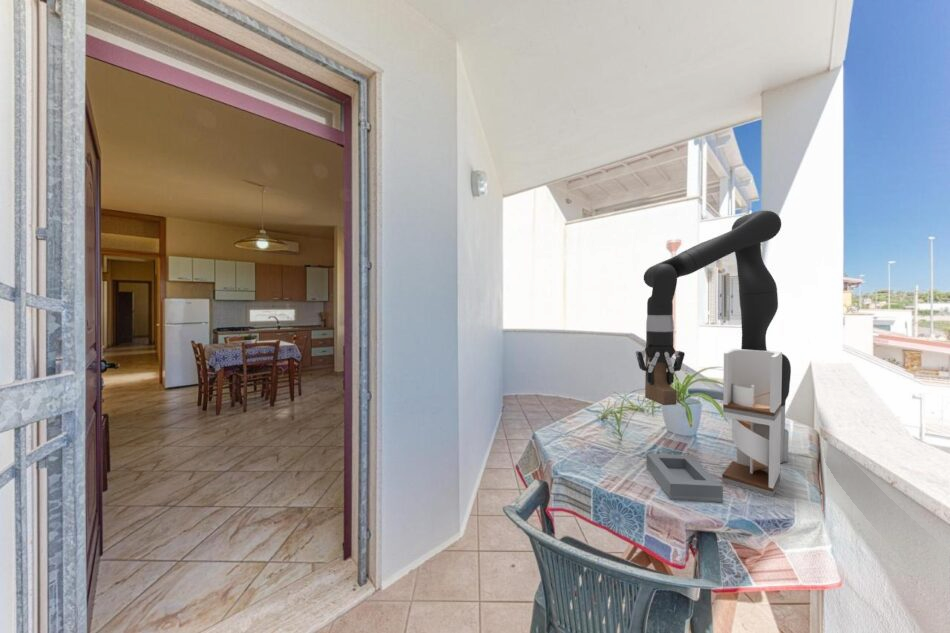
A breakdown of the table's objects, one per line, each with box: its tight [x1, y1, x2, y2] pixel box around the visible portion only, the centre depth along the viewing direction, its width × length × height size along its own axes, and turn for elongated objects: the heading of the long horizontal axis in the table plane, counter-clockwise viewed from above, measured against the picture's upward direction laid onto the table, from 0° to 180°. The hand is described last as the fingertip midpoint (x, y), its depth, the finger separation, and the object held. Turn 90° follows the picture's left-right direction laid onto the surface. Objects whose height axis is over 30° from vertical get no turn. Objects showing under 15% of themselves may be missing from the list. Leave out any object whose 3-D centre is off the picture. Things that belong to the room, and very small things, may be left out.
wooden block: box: [644, 354, 678, 406], centre depth 111 cm, size 9×4×18 cm, turn 9°
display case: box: [721, 348, 783, 498], centre depth 96 cm, size 11×11×35 cm
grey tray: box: [646, 453, 724, 503], centre depth 97 cm, size 12×18×4 cm
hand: (659, 383), depth 111 cm, fingers closed on wooden block, 4 cm apart
